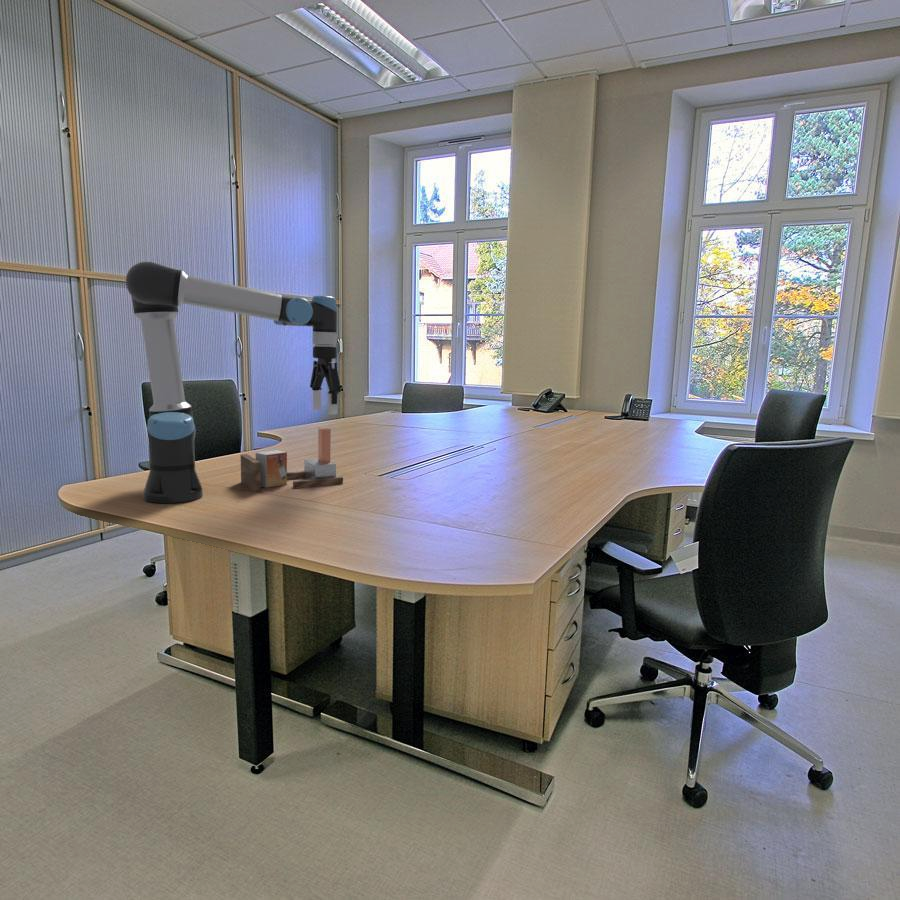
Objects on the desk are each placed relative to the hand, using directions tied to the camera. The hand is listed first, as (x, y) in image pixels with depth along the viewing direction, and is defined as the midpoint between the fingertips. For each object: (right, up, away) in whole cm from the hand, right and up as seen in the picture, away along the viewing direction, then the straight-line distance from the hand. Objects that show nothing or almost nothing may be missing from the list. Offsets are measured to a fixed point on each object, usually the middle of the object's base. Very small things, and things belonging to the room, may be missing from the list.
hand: (324, 412), depth 195 cm
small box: (-16, -24, -6) cm, 29 cm away
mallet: (-2, -22, +3) cm, 23 cm away
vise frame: (-10, -23, -2) cm, 25 cm away
